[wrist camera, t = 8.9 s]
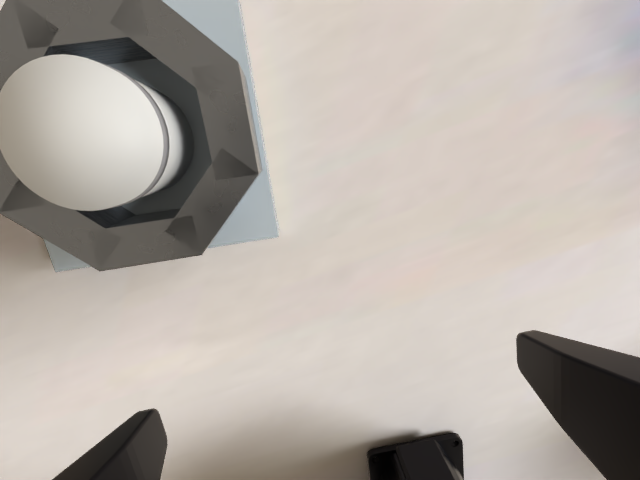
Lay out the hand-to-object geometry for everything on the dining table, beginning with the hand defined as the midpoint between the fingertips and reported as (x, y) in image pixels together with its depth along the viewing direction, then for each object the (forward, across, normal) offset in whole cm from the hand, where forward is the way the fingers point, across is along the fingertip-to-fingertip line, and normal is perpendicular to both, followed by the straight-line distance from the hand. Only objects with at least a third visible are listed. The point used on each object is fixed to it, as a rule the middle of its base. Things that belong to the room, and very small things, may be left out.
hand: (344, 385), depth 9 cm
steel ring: (+10, +6, -7) cm, 14 cm away
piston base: (+11, +7, -8) cm, 15 cm away
